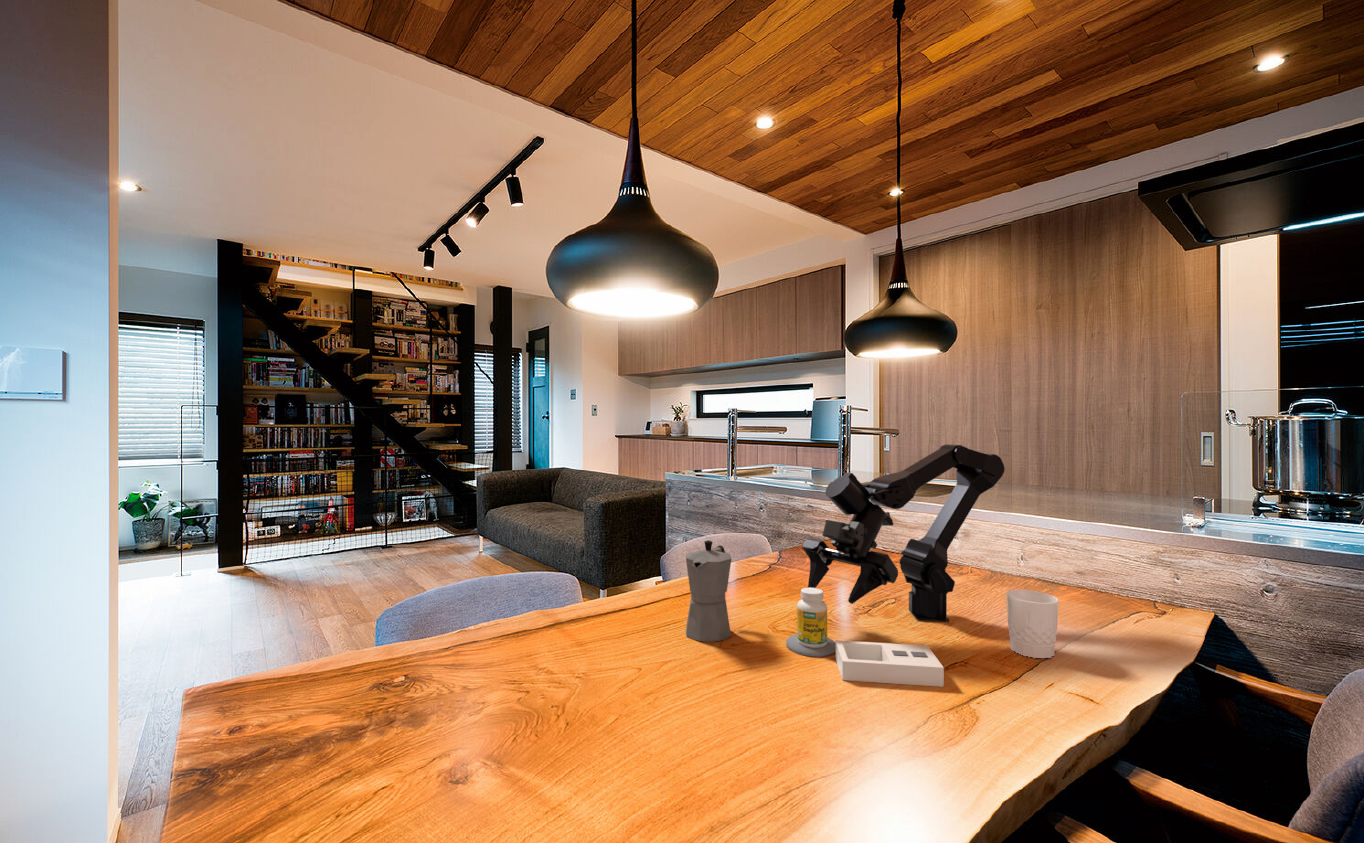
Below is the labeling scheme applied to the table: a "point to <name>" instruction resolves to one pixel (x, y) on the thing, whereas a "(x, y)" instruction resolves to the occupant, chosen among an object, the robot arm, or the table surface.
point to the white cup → (1032, 622)
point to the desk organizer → (888, 663)
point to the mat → (807, 651)
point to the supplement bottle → (812, 618)
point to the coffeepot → (708, 594)
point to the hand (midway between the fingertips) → (829, 596)
